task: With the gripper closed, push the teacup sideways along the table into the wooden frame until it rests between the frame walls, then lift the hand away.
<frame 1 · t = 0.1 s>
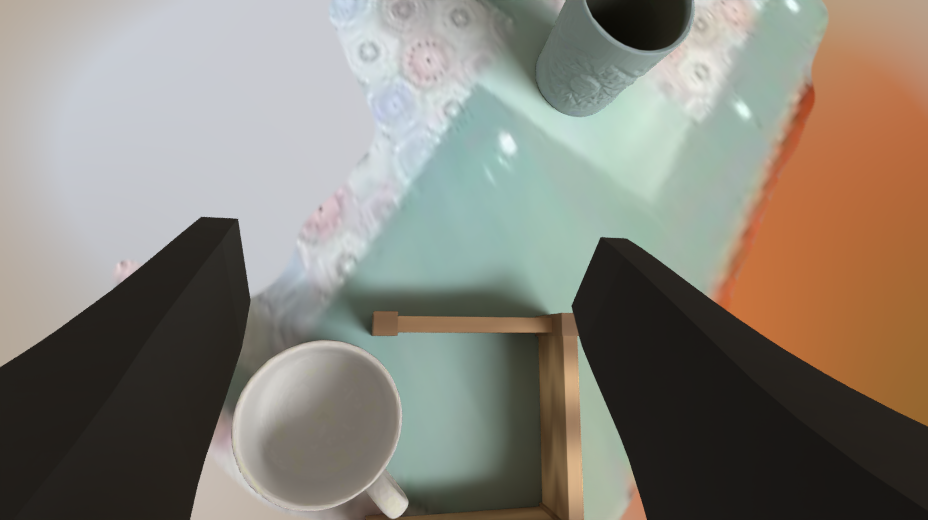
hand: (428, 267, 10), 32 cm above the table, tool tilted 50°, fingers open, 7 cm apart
wooden frame: (457, 419, 41), on the table
grey tumbler: (572, 77, 49), on the table
teacup: (337, 423, 39), on the table
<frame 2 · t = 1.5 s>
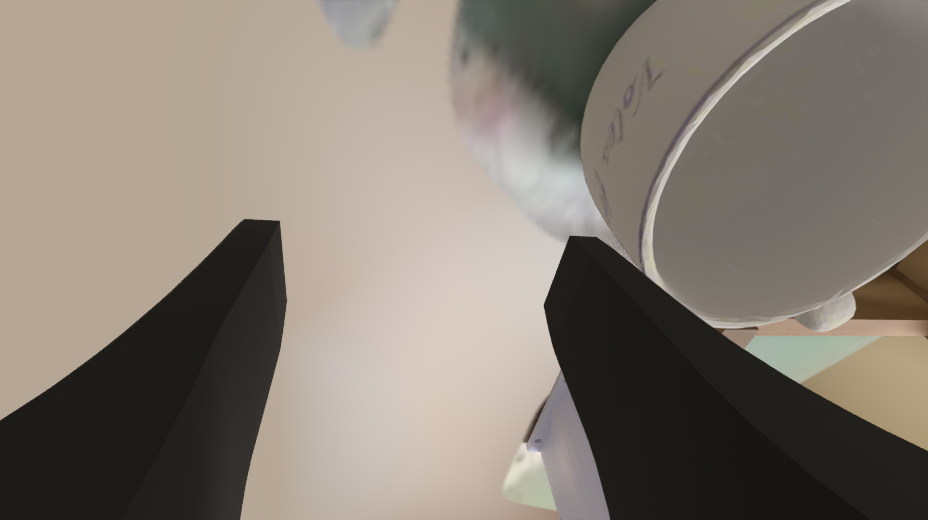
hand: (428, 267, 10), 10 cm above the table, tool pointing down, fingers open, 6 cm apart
wooden frame: (879, 145, 22), on the table
teacup: (688, 121, 20), on the table
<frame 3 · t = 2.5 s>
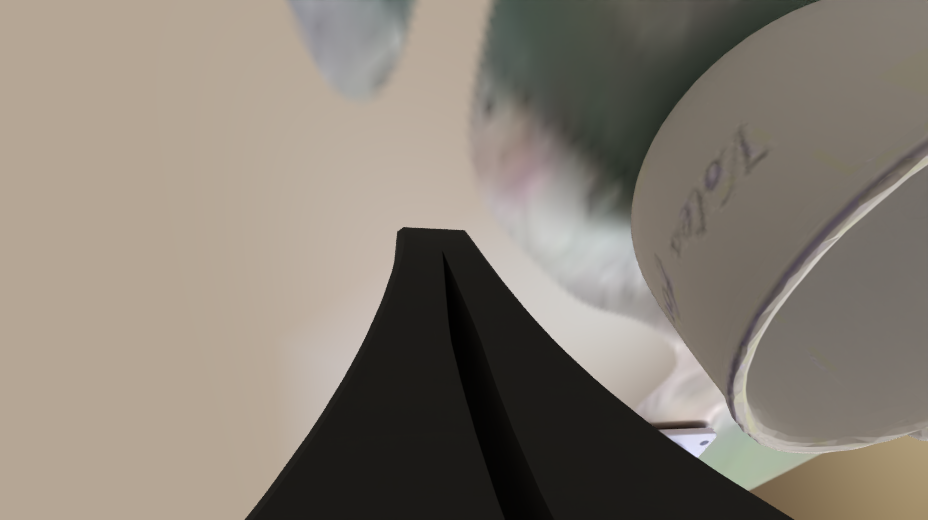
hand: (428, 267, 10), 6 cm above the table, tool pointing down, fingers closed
teacup: (752, 175, 17), on the table
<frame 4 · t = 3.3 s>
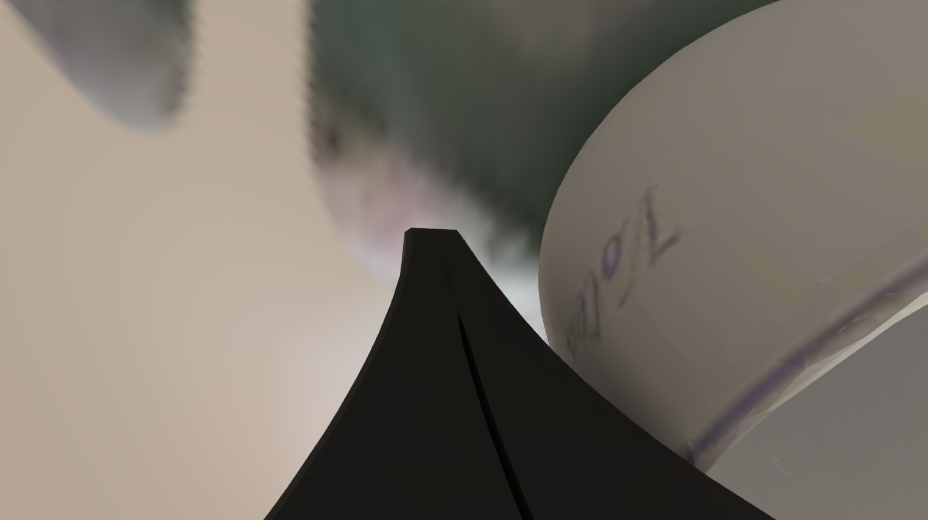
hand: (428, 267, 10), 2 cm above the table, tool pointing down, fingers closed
teacup: (706, 219, 14), on the table, touching gripper
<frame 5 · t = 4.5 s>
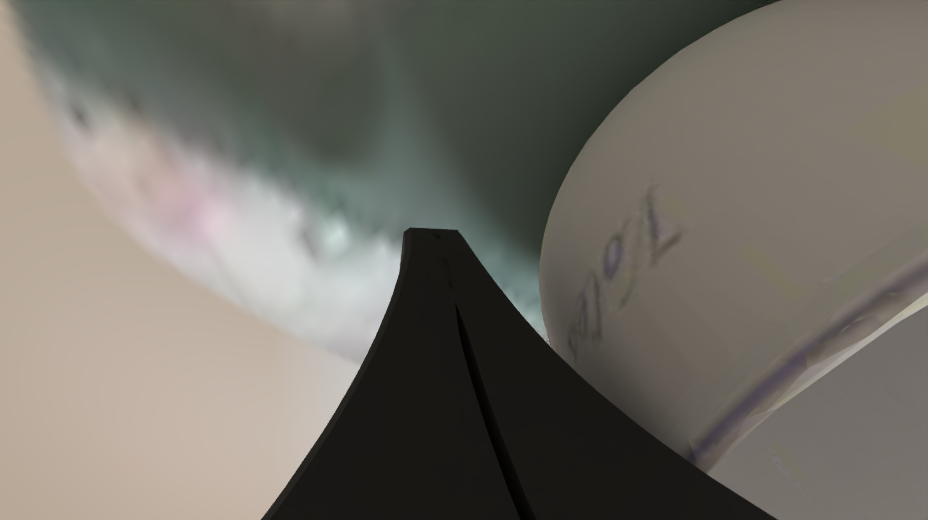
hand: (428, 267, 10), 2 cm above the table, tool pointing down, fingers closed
teacup: (707, 219, 14), on the table, touching gripper
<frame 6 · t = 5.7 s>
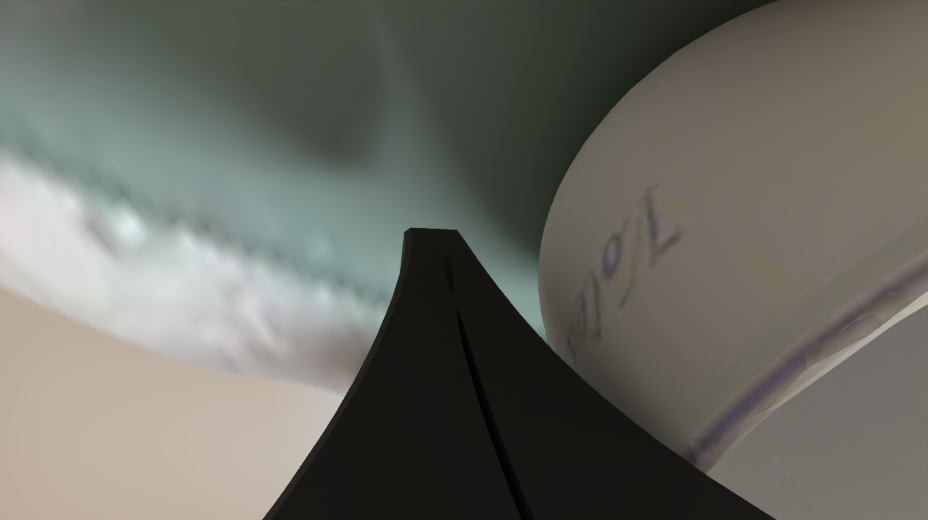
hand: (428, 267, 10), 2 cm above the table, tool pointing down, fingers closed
teacup: (705, 218, 14), on the table, touching gripper
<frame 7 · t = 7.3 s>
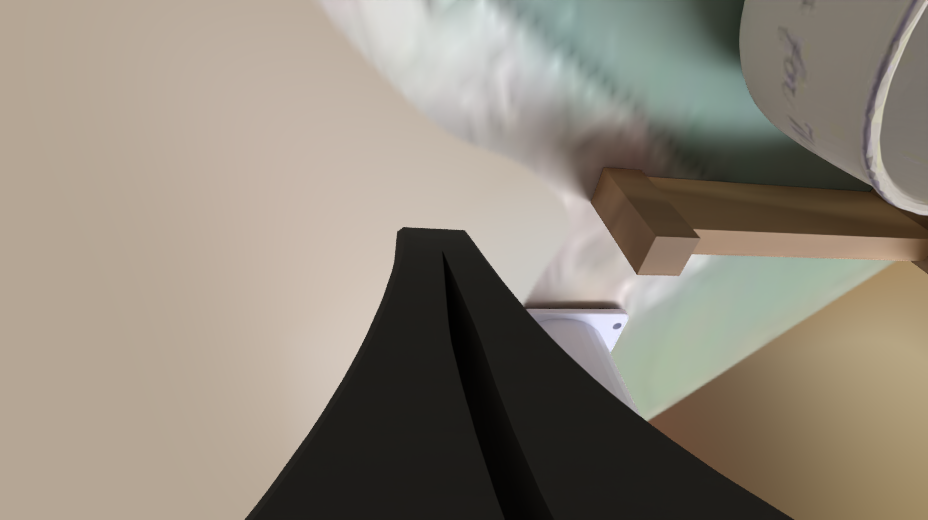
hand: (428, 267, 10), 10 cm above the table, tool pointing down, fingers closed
wooden frame: (851, 11, 18), on the table
teacup: (839, 7, 18), on the table
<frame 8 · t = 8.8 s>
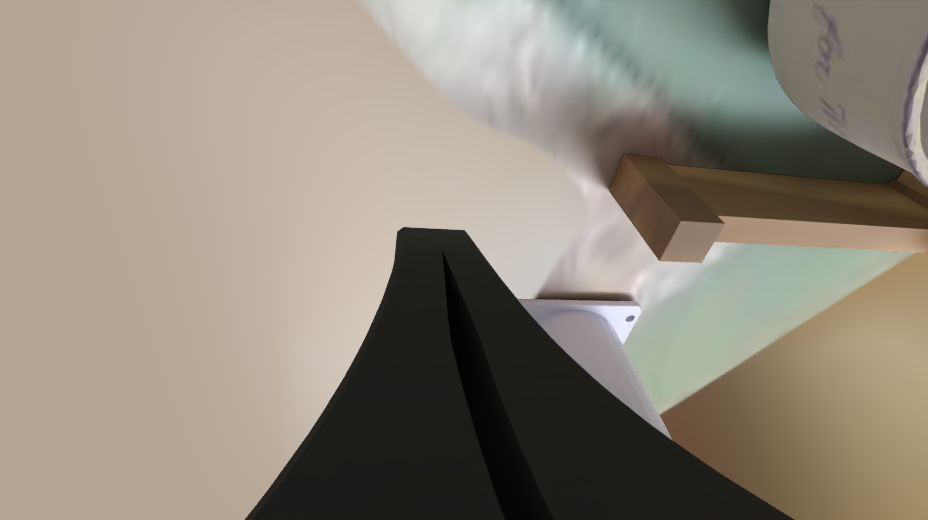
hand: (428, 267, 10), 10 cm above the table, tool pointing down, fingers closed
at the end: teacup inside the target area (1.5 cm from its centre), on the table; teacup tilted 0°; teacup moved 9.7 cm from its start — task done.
